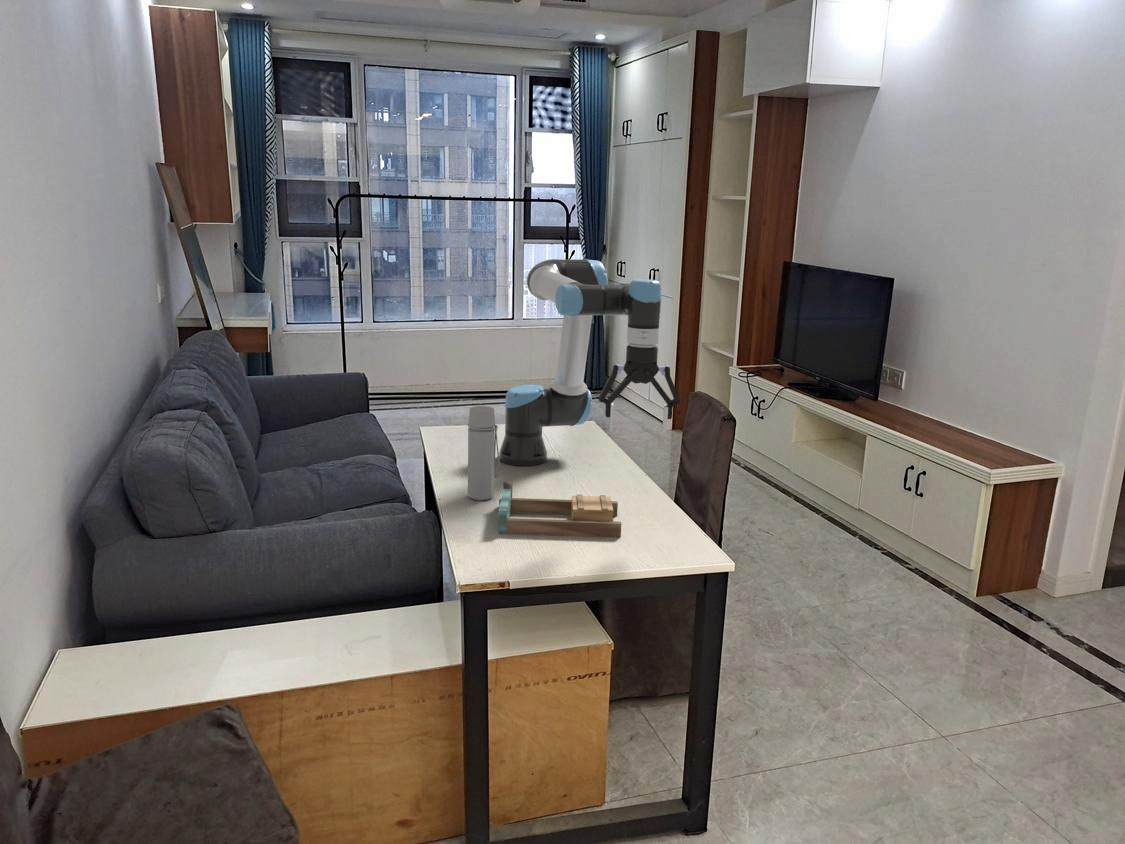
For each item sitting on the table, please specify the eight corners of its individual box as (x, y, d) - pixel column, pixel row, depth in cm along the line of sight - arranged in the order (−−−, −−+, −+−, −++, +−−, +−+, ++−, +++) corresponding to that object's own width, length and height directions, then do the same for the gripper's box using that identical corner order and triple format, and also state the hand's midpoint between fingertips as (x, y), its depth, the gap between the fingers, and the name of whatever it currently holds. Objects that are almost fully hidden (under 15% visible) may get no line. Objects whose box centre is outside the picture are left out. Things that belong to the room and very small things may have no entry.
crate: (570, 517, 216) (571, 494, 215) (609, 518, 216) (610, 495, 215) (572, 532, 207) (573, 508, 205) (612, 533, 207) (613, 508, 205)
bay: (499, 504, 223) (500, 479, 221) (615, 508, 223) (617, 483, 222) (493, 533, 204) (493, 506, 202) (620, 537, 204) (622, 510, 202)
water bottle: (473, 503, 223) (474, 413, 217) (463, 494, 230) (463, 406, 224) (505, 499, 227) (506, 410, 221) (493, 490, 234) (494, 403, 228)
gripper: (591, 345, 196) (588, 433, 201) (695, 348, 196) (689, 436, 201) (590, 340, 204) (587, 425, 209) (691, 344, 203) (685, 428, 209)
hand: (637, 430), depth 205 cm, fingers open, 12 cm apart
